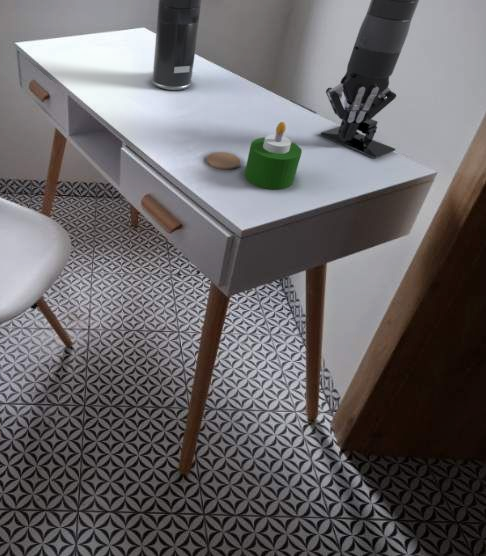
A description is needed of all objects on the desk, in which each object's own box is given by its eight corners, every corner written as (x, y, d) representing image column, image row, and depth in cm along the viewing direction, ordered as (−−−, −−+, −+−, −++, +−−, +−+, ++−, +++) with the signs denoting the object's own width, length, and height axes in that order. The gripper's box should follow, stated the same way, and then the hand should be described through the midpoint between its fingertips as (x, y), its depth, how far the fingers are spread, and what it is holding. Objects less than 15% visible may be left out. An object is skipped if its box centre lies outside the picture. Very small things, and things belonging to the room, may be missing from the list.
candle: (235, 169, 91) (246, 114, 84) (275, 163, 93) (289, 109, 87) (260, 192, 85) (274, 135, 78) (303, 185, 87) (320, 129, 81)
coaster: (203, 154, 95) (203, 152, 95) (234, 153, 96) (235, 151, 95) (211, 169, 90) (211, 167, 90) (244, 169, 91) (244, 167, 91)
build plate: (319, 134, 103) (326, 112, 100) (340, 127, 107) (348, 105, 104) (375, 158, 96) (385, 134, 93) (396, 150, 99) (406, 127, 96)
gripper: (403, 38, 91) (367, 131, 103) (333, 36, 90) (304, 130, 101) (427, 51, 86) (386, 148, 97) (352, 49, 84) (319, 147, 95)
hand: (344, 139), depth 99 cm, fingers closed
